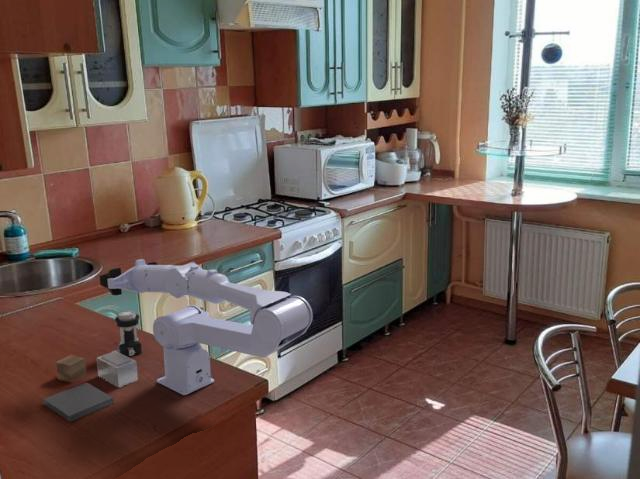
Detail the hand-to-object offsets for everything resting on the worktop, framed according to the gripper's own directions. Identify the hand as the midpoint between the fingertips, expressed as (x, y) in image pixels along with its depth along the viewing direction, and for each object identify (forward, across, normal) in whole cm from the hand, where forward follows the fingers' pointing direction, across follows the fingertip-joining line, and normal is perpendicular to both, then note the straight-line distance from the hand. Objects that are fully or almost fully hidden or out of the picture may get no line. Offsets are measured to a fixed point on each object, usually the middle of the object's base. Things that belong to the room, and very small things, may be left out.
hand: (116, 277), depth 134 cm
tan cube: (+4, +10, +20) cm, 23 cm away
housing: (-4, +5, +21) cm, 22 cm away
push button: (+4, -4, +19) cm, 20 cm away
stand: (-7, +16, +22) cm, 28 cm away
